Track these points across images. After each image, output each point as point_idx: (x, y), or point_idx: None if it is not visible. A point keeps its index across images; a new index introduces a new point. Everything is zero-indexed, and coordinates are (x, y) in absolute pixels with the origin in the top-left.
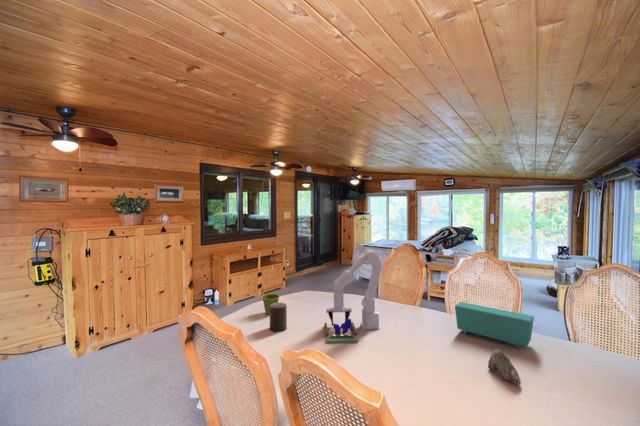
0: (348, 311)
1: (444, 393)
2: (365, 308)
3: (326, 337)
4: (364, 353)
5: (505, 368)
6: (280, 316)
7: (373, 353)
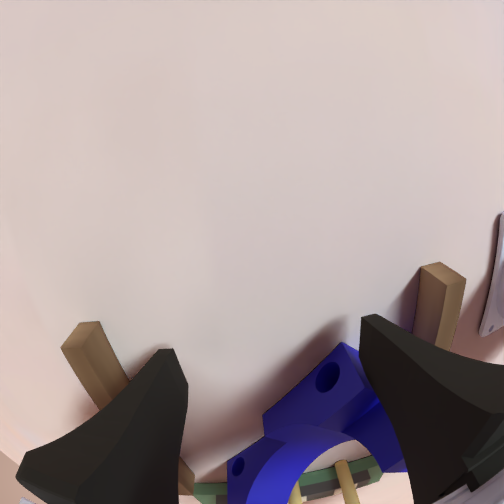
0: (500, 473)
1: None
2: None
3: (194, 496)
4: (369, 497)
5: None
6: None
7: (398, 486)
